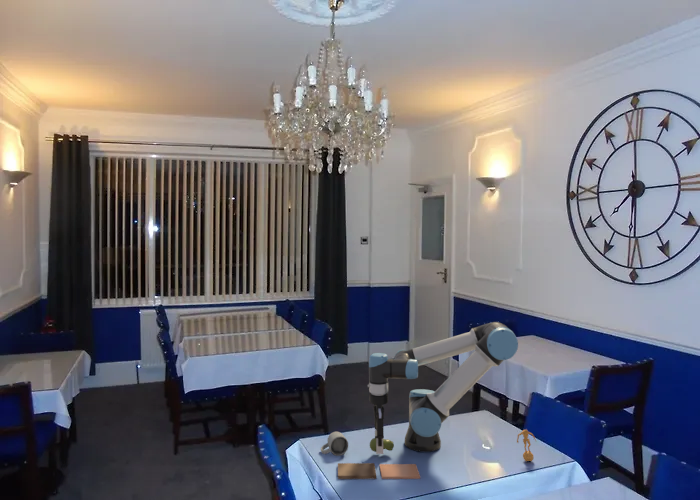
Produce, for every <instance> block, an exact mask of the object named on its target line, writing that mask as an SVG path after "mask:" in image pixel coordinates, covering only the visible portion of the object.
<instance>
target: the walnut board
mask: <svg viewBox="0 0 700 500" xmlns="http://www.w3.org/2000/svg"><path fill="white" fill-rule="evenodd" d="M376 471H377V469H376V465H375V463H374V462H362V463H361V462H357V463H353V462H350V463H349V462H346V463H345V462H344V463H343V462H339V463H337V479H338V480H377V472H376Z"/></svg>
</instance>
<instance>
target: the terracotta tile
mask: <svg viewBox="0 0 700 500" xmlns="http://www.w3.org/2000/svg"><path fill="white" fill-rule="evenodd" d="M379 472H380V475H381V479H382V480H391V479H392V480H399V479H400V480H402V479H403V480H408V479H409V480H416V479H417V480H420V479H421V475H420V472H419V469H418V467H417V464H416V463H415V464H414V463H405V464H404V463H403V464H402V463H399V464H398V463H393V464H392V463H390V464H389V463H388V464H387V463H383V464H382V463H380V464H379Z"/></svg>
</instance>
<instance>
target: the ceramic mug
mask: <svg viewBox="0 0 700 500" xmlns="http://www.w3.org/2000/svg"><path fill="white" fill-rule="evenodd" d="M348 449H349V441H348V439H347V438H346V437H345V435H344V434H343V433H341V432H340V431H333V432H331V433H330V434H329V435H328V437H327V443H325V444H323V445H322V446H321V447H320V452H321V454H322V455H326V454H329V453H332V454H333V455H334V456H343V455H345V454H346V452H347V451H348Z"/></svg>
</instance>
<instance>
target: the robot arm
mask: <svg viewBox="0 0 700 500" xmlns="http://www.w3.org/2000/svg"><path fill="white" fill-rule="evenodd" d="M518 348H519V341H518V338H517V336H516V334H515V333H514V331H513V330H511V329H510V328H509V327H508V326H507V325H505V324H504V323H501V322H498V321H493V322H489V323H485V324H482V325H479V326H476V327H472V328H471V329H470V331H469V332H464V333H461V334H458V335H454V336H451V337H448V338H444V339H441V340H437V341H435V342H430V343H428V344H424V345H421V346H417V347H413V348H410V349H408V350H407V349H400V350H398V351H397V352H396V353H395V354H394V358H389V357H388V356H389V355H388V354H386V353H383V352H374V353H372V354H370V355H369V358H368V384H367V388H369V389H368V390H369V393H368V396H369V398H368V401H369V402H368V403H370V404H371V405H373V407H372V409H373V415H374V438H376V452H375V453H376V455H383V454H384V449H383V439H385V437H384V419H385V416H384V413H385V408H384V405H387V404H388V402H389V381H388V380H389V379H397V380H398V379H399V380H401V379H402V380H414V379H418V377H419V367H420V366H424V365H427V364H430V363H433V362H437V361H441V360H444V359H447V358H450V357H454V356H458V355H462V354H464V353H469V352H472V351H473V352H472V353H471V354H470V355H469V357H467V358H466V359H465V360H464V361H463V362H462V364H461V365H459V366H458V368H456V369H455V370H454V372H452V374H451V375H450V376H449V377H448V378H447V379H446V380H444V382H443V383H442V384H441V385H440V386H439V387H438V388H437V389H436V390H435V391H434V390H432V389H431V390H430V389H424V388H422V389H421V388H420V389H419V388H418V389H412V390H410V392H409V396H408V398H409V399H408V401H409V402H408V403H409V405H408V409H409V410H408V411H409V412H408V428H407V430H406V434H405V436H404V445H405V446H406V447H407V448H408V449H410V450H413V451H416V452H422V453H424V452H425V453H429V452H435V451H438V450H440V449H441V445H442V440H441V437H440V434H439V431H440V430H441V428H442V423H444V421H446V419H448V417H449V416H450V409H452V408H453V407H454V406H455V405H456V403H457V402H459V400H460V399H462V398H463V396H464V395H465V394H466V393H467V392H469V390H470V389H471V388H472V387H474V385H476V383H478V382H479V380H480V379H481V378H483V376H484V375H485V374H486V373H487V372H488V371H490V369H492V368H493V367H499V366H501V365H500V364H502V363H503V362H504V361H508V360H510V359H512V357H514V356H515V355H516V353H517V352H518Z"/></svg>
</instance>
